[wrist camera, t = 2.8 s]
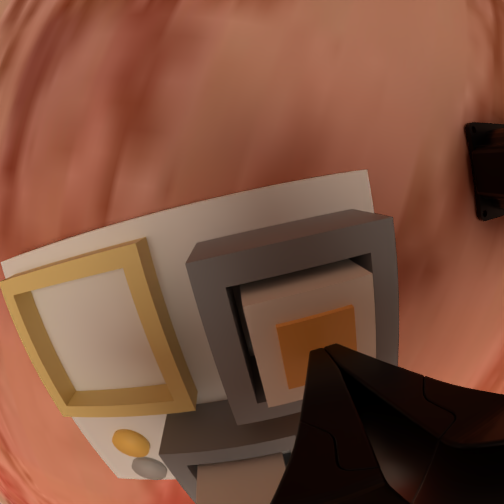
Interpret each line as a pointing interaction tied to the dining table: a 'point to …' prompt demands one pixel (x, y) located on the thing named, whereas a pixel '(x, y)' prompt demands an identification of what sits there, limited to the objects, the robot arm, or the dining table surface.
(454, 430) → the robot arm
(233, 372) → the panel
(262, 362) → the block
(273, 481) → the breaker button
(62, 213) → the dining table surface
